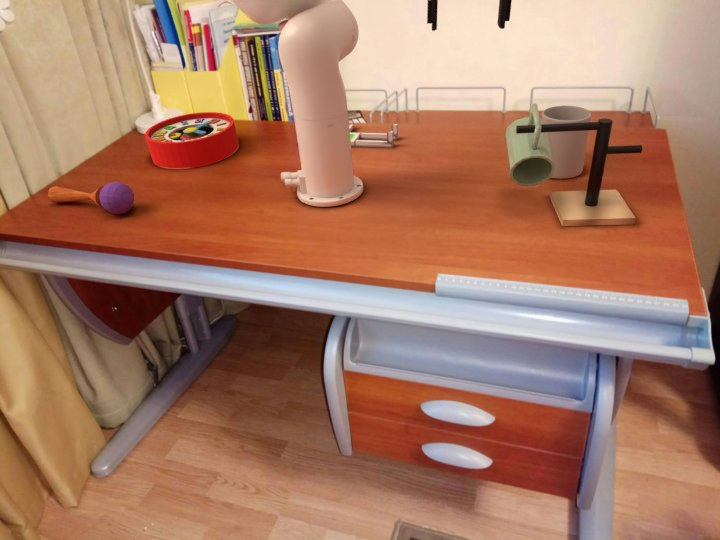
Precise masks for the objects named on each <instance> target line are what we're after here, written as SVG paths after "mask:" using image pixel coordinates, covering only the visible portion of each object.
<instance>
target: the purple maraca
mask: <svg viewBox="0 0 720 540" xmlns="http://www.w3.org/2000/svg"><path fill="white" fill-rule="evenodd" d="M47 197H48V199H49V201H50V202H52V203H53V204H57V203H67V202H68V203H70V202H78V201H89V200H91V201H92V202H93V203H95V205H97V206H98V207H100V208H101V209H104V210H106V211H107V212H108V213H111V214H114V215H120V214H122V215H123V214H125V213H127V212H129V211H130V210H131V209H132V208H133V206H134V203H135V194H134V191H133V190H132V188H130V186H129V185H128V184H125V183H124V182H121V181H111V182H109V183H107V184H105V185H103V186H102V185H101V186H100V187H98V188H96V189H95V190H94V191H93V192H90V193H89V192H86V191H82V190H75V189H71V188H68V187H63V186H57V185H54V186H51V187H49V189H48V191H47Z"/></svg>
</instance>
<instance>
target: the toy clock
mask: <svg viewBox="0 0 720 540" xmlns="http://www.w3.org/2000/svg"><path fill="white" fill-rule="evenodd" d="M237 133H238V132H237V128H236V125H235V119H234V117H233V116H231V115H230V114H227V113H225V112H224V113H223V112H217V111H216V112H215V111H214V112H213V111H202V112H193V113H185V114H182V115H178V116H173V117H170V118H167V119H165V120H161V121H159V122H157V123H155V124H153V125H151V126H150V127H149V128H147V129H146V131H145V133H144V137H145V140H146V144H147V147H148V151H149V154H150V157H151V160H152V162H153V164H154V165H156V166H158V167H159V168H162V169H170V170H184V169H193V168H200V167H204V166H208V165H212V164H216V163H217V162H220V161H223V160H225V159H227V158H228V157H230V156H232V155H233V154H234V153H236V152H237V151H238V149H239V147H240V141H239V138H238V134H237Z"/></svg>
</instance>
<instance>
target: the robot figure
mask: <svg viewBox="0 0 720 540" xmlns="http://www.w3.org/2000/svg"><path fill="white" fill-rule="evenodd" d="M349 130H350V140H351V147H353V148H354V147H356V148H357V147H358V148H387V149H388V148H389V149H393V148H394V146H395V144H394V143H395V142H394V141H398V139H399V127H398V123H394V124H393V123H392V124H391V131H389V130H388V131H387V132H385V133H384V132H353V131H354V130H355V125H354V123H349Z"/></svg>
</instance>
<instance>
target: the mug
mask: <svg viewBox="0 0 720 540" xmlns="http://www.w3.org/2000/svg"><path fill="white" fill-rule="evenodd" d="M540 119H541V120H543V121H544V122H545V124H563V123H584V122H592V121H591V120H592V112H591V111H590V110H589V109H586V108H584V107H580V106H577V105H576V106H575V105H555V106H550V107H547V108H545V109H544V110H543V111H542V113H541V117H540ZM589 132H590V130H587V131H565V132H548V133H549V139H550V144H551V149H552V154H553V159H554V164H555V170H554V174H553V175H552V176H551V177H550V178H549V179H559V180H565V179H572V178H576V177H578V176H580V175H581V174H582V173H583V171H584V166H585V160H586V159H585V158H586V151H587V145H588V139H589Z"/></svg>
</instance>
